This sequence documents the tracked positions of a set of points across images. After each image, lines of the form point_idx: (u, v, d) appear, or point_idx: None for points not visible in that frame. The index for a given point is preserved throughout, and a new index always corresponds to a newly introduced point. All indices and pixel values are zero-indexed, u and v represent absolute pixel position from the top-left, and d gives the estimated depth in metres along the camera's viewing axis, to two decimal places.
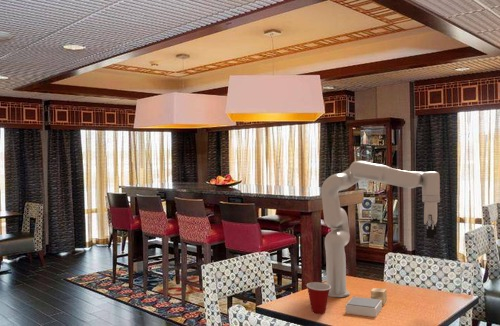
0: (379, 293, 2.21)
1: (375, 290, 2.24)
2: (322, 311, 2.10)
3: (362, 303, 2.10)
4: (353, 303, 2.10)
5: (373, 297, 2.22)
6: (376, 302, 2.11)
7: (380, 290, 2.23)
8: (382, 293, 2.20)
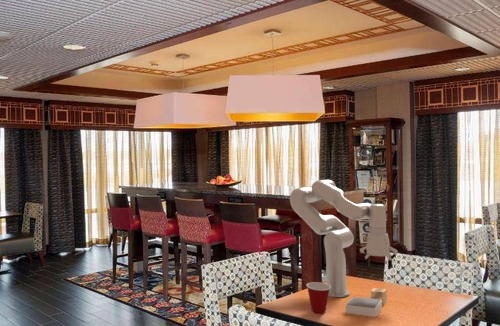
0: (379, 293, 2.21)
1: (375, 290, 2.24)
2: (322, 311, 2.10)
3: (362, 303, 2.10)
4: (353, 303, 2.10)
5: (373, 297, 2.22)
6: (376, 302, 2.11)
7: (380, 290, 2.23)
8: (382, 293, 2.20)
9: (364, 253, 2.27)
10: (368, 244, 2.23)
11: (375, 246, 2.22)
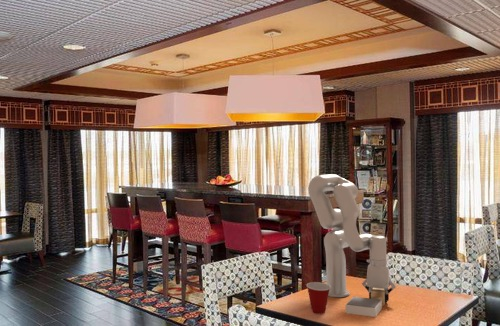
0: (379, 293, 2.21)
1: (375, 290, 2.24)
2: (322, 311, 2.10)
3: (362, 303, 2.10)
4: (353, 303, 2.10)
5: (373, 297, 2.22)
6: (376, 302, 2.11)
7: (380, 290, 2.23)
8: (382, 293, 2.20)
9: (367, 286, 2.26)
10: (368, 276, 2.23)
11: (375, 278, 2.22)
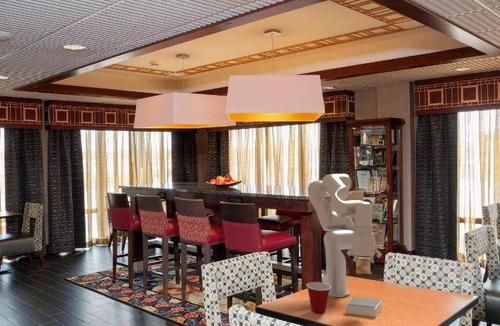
0: (364, 261, 2.10)
1: (360, 259, 2.12)
2: (322, 311, 2.10)
3: (362, 303, 2.10)
4: (353, 303, 2.10)
5: (358, 266, 2.11)
6: (376, 302, 2.11)
7: (366, 259, 2.12)
8: (368, 261, 2.09)
9: (352, 255, 2.15)
10: (353, 244, 2.12)
11: (360, 246, 2.11)
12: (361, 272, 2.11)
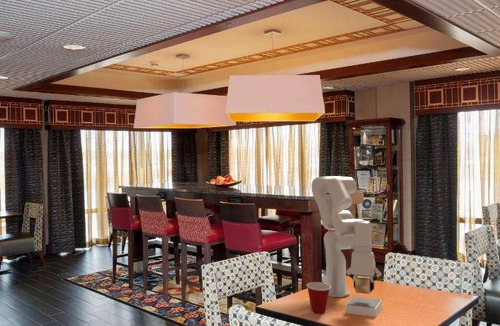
0: (364, 281, 2.09)
1: (360, 278, 2.12)
2: (322, 311, 2.10)
3: (362, 303, 2.10)
4: (353, 303, 2.10)
5: (358, 285, 2.11)
6: (376, 302, 2.11)
7: (365, 278, 2.12)
8: (367, 281, 2.09)
9: (352, 275, 2.15)
10: (353, 263, 2.12)
11: (360, 265, 2.10)
12: (360, 291, 2.10)
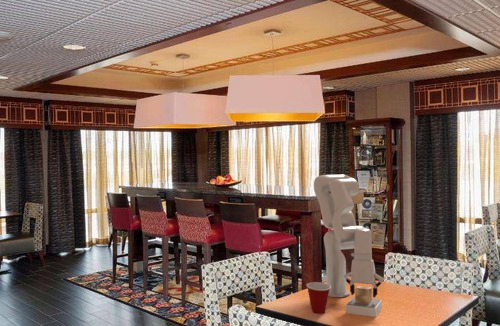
0: (364, 291, 2.10)
1: (360, 288, 2.12)
2: (322, 311, 2.10)
3: None
4: (353, 303, 2.10)
5: (357, 295, 2.11)
6: (376, 302, 2.11)
7: (365, 288, 2.12)
8: (367, 291, 2.09)
9: (348, 279, 2.15)
10: (352, 270, 2.12)
11: (360, 273, 2.11)
12: (360, 302, 2.10)
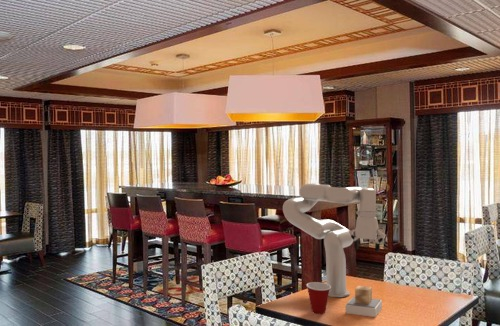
0: (364, 291, 2.10)
1: (360, 288, 2.12)
2: (322, 311, 2.10)
3: None
4: (353, 303, 2.10)
5: (357, 295, 2.11)
6: (376, 302, 2.11)
7: (365, 288, 2.12)
8: (367, 291, 2.09)
9: (353, 235, 2.31)
10: (357, 227, 2.28)
11: (363, 229, 2.26)
12: (360, 302, 2.10)
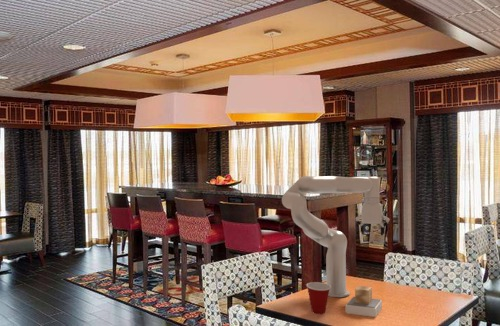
0: (364, 291, 2.10)
1: (360, 288, 2.12)
2: (322, 311, 2.10)
3: None
4: (353, 303, 2.10)
5: (357, 295, 2.11)
6: (376, 302, 2.11)
7: (365, 288, 2.12)
8: (367, 291, 2.09)
9: (359, 221, 2.49)
10: (363, 213, 2.45)
11: (369, 214, 2.44)
12: (360, 302, 2.10)
